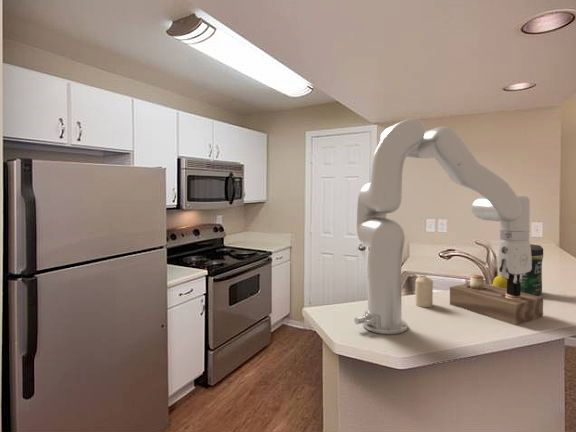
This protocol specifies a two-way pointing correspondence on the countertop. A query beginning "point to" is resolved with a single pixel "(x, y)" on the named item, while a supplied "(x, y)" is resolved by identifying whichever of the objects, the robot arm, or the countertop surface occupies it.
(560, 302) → the countertop surface
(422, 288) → the candle
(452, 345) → the countertop surface
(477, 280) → the peg far
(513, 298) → the peg near
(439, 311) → the countertop surface
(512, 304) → the block
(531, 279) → the coffee jar
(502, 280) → the lemon
